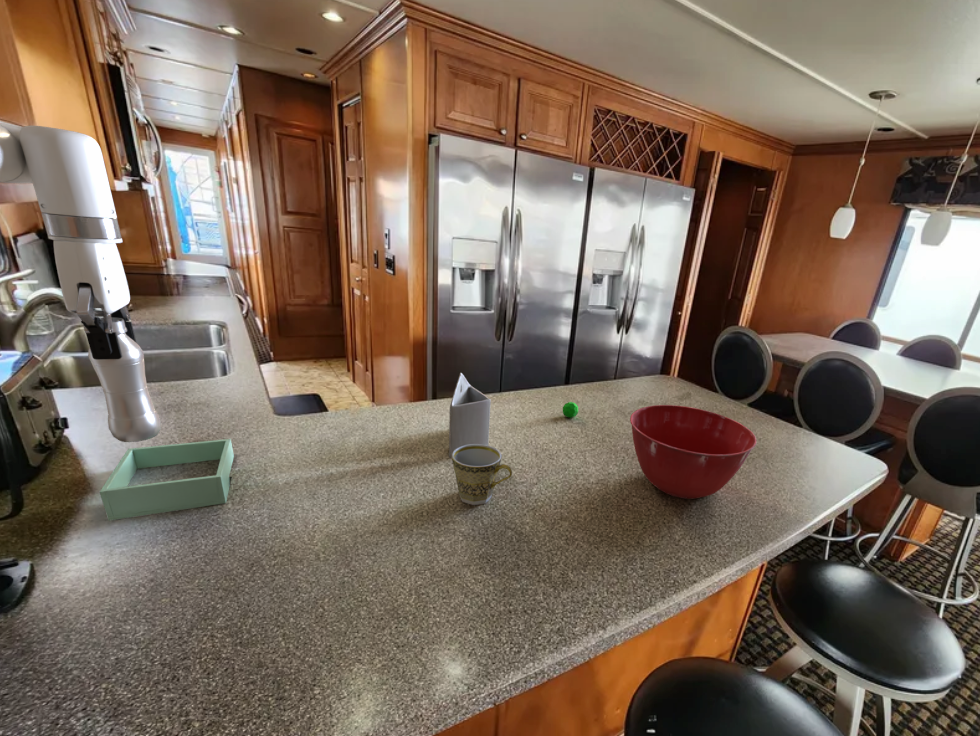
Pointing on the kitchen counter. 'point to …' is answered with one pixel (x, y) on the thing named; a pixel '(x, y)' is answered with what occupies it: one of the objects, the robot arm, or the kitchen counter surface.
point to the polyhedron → (570, 409)
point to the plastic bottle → (127, 390)
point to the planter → (468, 416)
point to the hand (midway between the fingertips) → (116, 351)
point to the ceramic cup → (477, 472)
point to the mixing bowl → (689, 448)
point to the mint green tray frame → (170, 493)
